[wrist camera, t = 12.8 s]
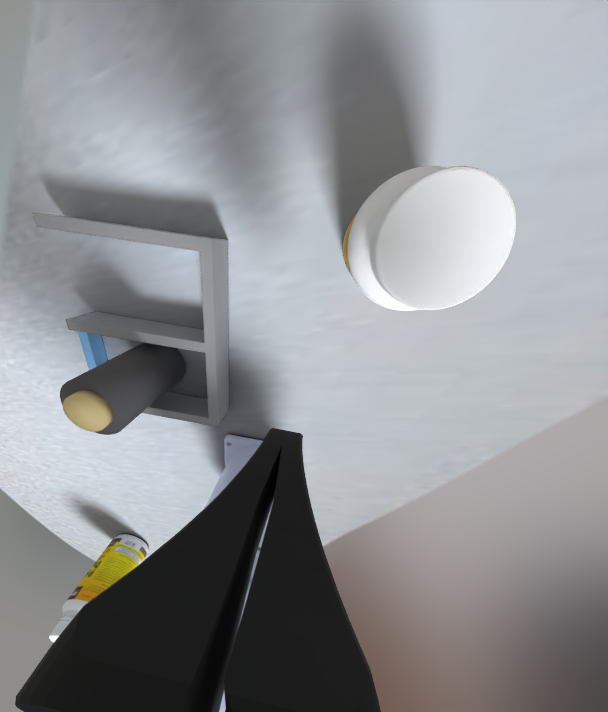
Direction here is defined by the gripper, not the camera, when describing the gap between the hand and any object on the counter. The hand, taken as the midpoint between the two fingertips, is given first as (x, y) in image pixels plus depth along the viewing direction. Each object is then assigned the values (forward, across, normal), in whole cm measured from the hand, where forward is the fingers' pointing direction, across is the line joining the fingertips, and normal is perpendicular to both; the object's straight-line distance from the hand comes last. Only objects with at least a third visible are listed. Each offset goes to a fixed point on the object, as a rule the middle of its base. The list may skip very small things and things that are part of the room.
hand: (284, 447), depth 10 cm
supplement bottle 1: (+10, +22, +37) cm, 44 cm away
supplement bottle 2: (+11, -4, -8) cm, 14 cm away
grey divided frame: (+10, +13, 0) cm, 17 cm away
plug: (+10, +13, +4) cm, 17 cm away
